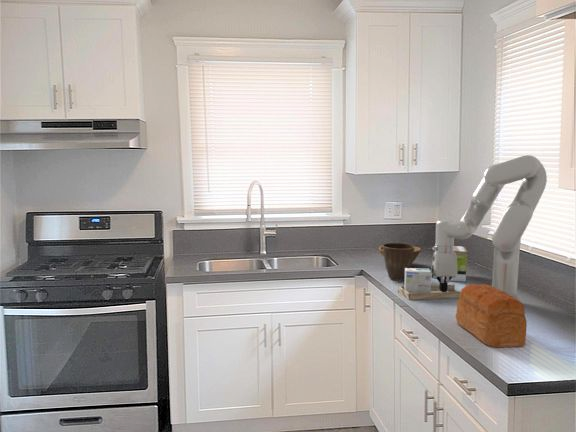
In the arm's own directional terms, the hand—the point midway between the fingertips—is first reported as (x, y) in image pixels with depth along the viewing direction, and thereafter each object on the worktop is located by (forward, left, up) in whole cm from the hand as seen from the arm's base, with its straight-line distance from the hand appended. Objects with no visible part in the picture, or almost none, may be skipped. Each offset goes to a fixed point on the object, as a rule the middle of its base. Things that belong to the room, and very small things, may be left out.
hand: (443, 291), depth 230 cm
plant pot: (+30, +9, -2) cm, 32 cm away
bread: (-49, +7, -2) cm, 49 cm away
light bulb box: (+1, +11, -1) cm, 12 cm away
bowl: (+56, -2, -2) cm, 56 cm away
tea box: (+28, -19, -2) cm, 34 cm away
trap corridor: (0, +5, -1) cm, 5 cm away
